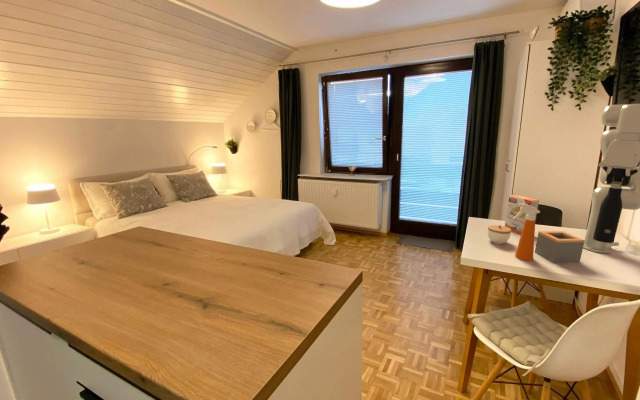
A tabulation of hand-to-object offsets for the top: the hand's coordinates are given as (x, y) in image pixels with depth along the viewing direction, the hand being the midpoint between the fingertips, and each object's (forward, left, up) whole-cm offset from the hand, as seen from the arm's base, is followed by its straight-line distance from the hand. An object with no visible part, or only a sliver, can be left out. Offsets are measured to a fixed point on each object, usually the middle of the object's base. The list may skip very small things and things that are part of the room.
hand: (616, 184), depth 118 cm
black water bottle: (0, 0, -24) cm, 24 cm away
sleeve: (+6, -14, -38) cm, 41 cm away
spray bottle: (+23, -14, -38) cm, 47 cm away
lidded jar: (+22, -34, -38) cm, 56 cm away
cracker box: (+1, -49, -38) cm, 62 cm away
